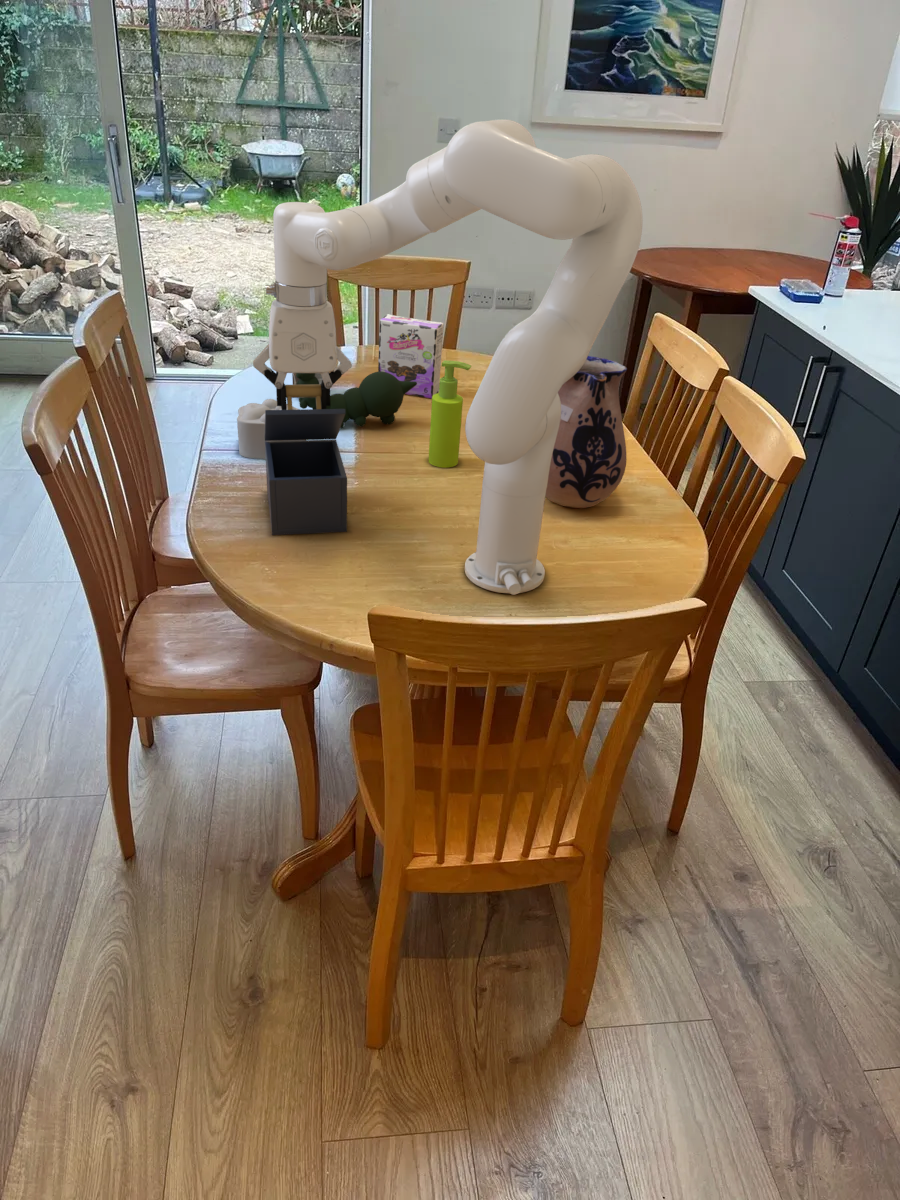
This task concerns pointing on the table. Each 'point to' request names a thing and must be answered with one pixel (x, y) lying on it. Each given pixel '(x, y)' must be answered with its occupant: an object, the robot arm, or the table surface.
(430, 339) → the candy box
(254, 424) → the lumpy-topped squat cylinder
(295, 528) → the chest
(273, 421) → the lid
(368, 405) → the toy figurine
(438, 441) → the soap dispenser
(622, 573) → the table surface
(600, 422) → the ceramic pitcher
